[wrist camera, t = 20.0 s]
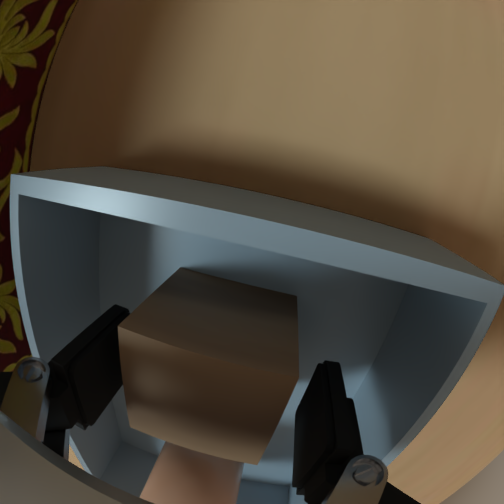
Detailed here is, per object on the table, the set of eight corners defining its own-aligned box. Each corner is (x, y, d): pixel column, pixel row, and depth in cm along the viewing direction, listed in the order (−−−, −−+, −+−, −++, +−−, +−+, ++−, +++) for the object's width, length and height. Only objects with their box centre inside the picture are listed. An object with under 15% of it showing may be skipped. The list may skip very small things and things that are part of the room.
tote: (102, 166, 11) (10, 174, 6) (428, 238, 10) (507, 286, 5) (119, 436, 18) (92, 481, 12) (294, 483, 17) (290, 537, 11)
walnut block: (180, 267, 12) (117, 325, 7) (296, 295, 11) (299, 377, 6) (172, 357, 13) (129, 426, 8) (268, 382, 13) (257, 465, 8)
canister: (173, 405, 14) (127, 497, 8) (255, 427, 14) (235, 529, 7) (172, 444, 16) (140, 519, 9) (240, 462, 15) (222, 543, 9)
